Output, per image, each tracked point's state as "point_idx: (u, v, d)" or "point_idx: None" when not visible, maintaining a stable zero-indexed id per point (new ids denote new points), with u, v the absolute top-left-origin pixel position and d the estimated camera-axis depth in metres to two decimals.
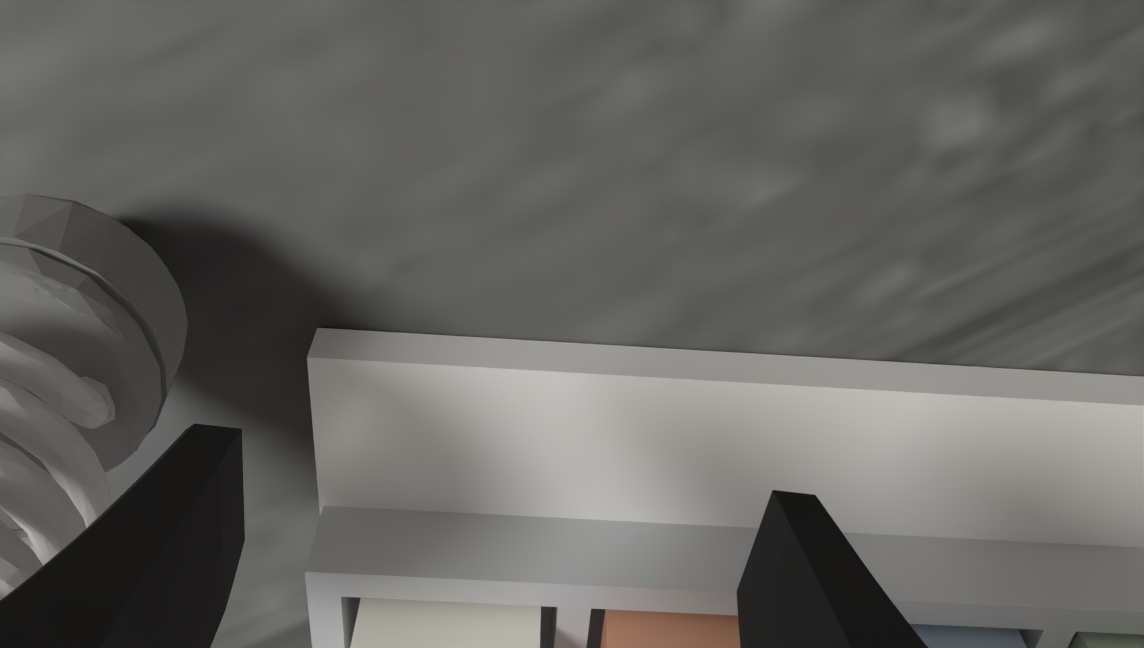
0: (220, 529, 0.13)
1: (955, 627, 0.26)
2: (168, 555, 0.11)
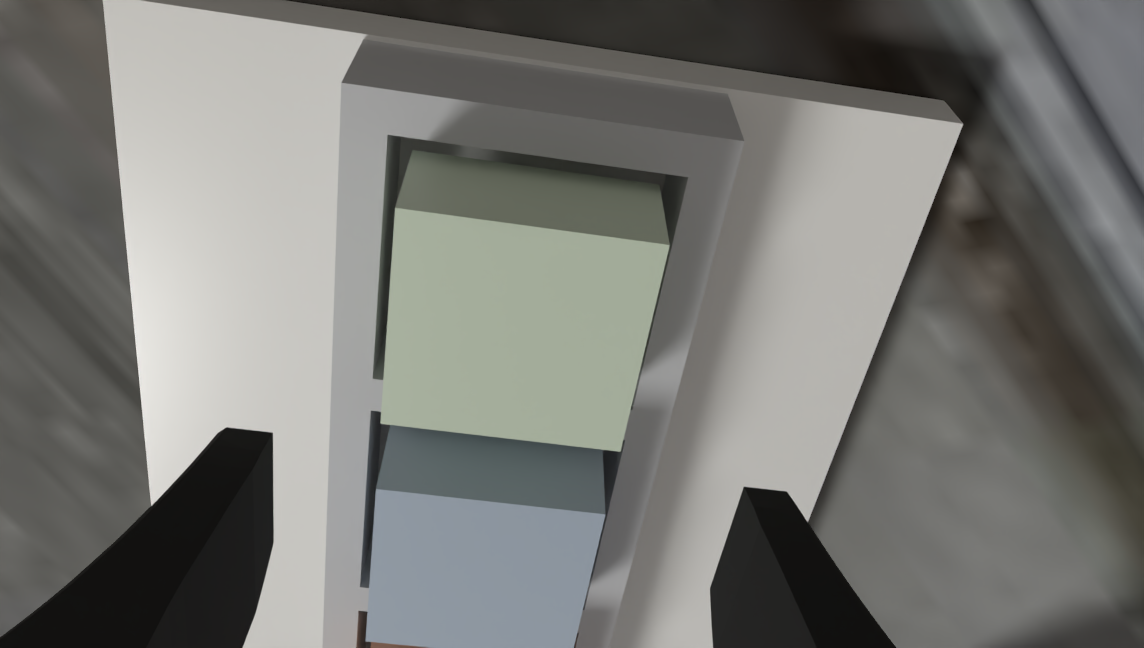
0: (253, 533, 0.13)
1: None
2: (206, 560, 0.11)
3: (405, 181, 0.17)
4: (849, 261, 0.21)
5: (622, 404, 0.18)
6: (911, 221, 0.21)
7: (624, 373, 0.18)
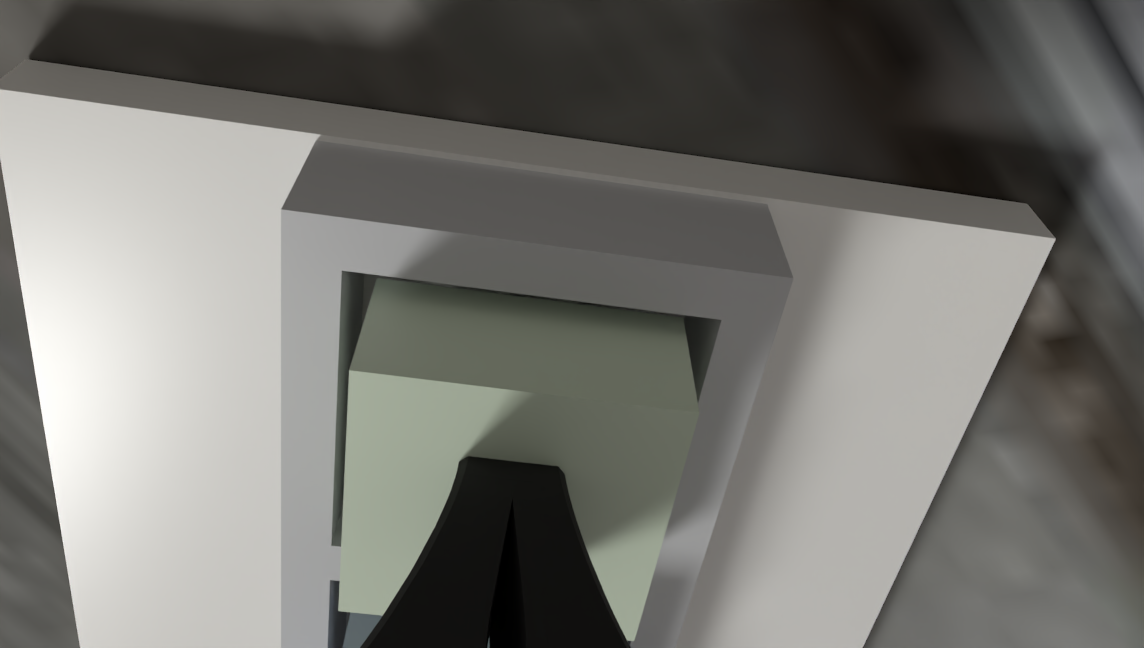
0: (502, 559, 0.13)
1: None
2: (494, 590, 0.11)
3: (365, 327, 0.13)
4: (910, 393, 0.18)
5: (637, 590, 0.15)
6: (986, 349, 0.17)
7: (640, 557, 0.14)
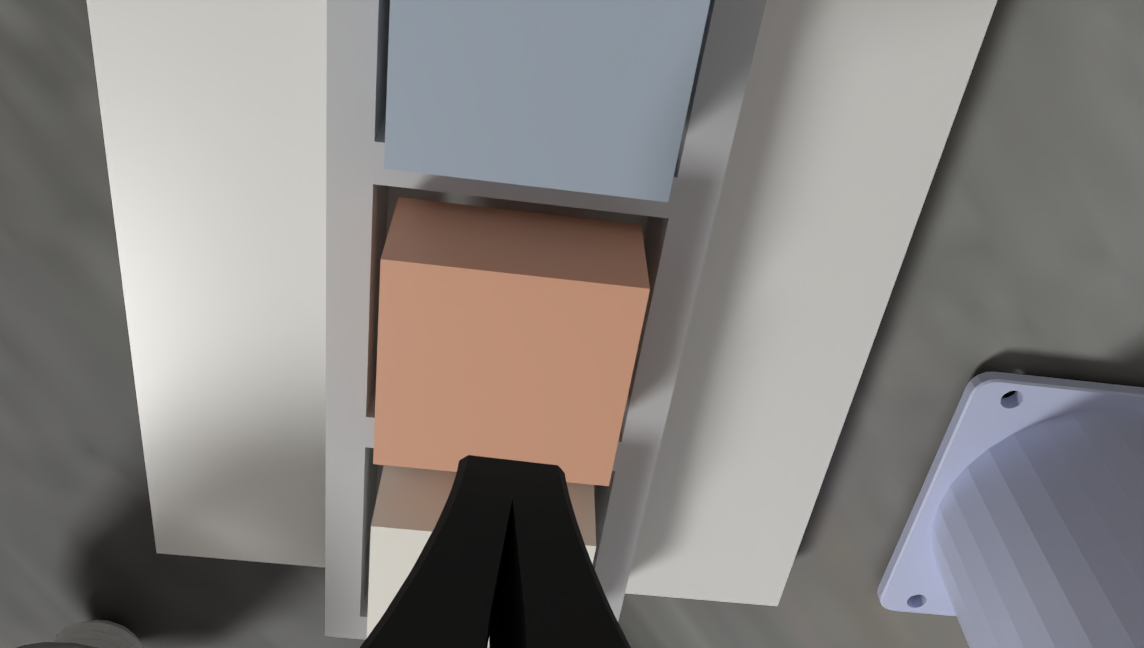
0: (502, 559, 0.13)
1: None
2: (494, 589, 0.11)
3: None
4: None
5: None
6: None
7: None
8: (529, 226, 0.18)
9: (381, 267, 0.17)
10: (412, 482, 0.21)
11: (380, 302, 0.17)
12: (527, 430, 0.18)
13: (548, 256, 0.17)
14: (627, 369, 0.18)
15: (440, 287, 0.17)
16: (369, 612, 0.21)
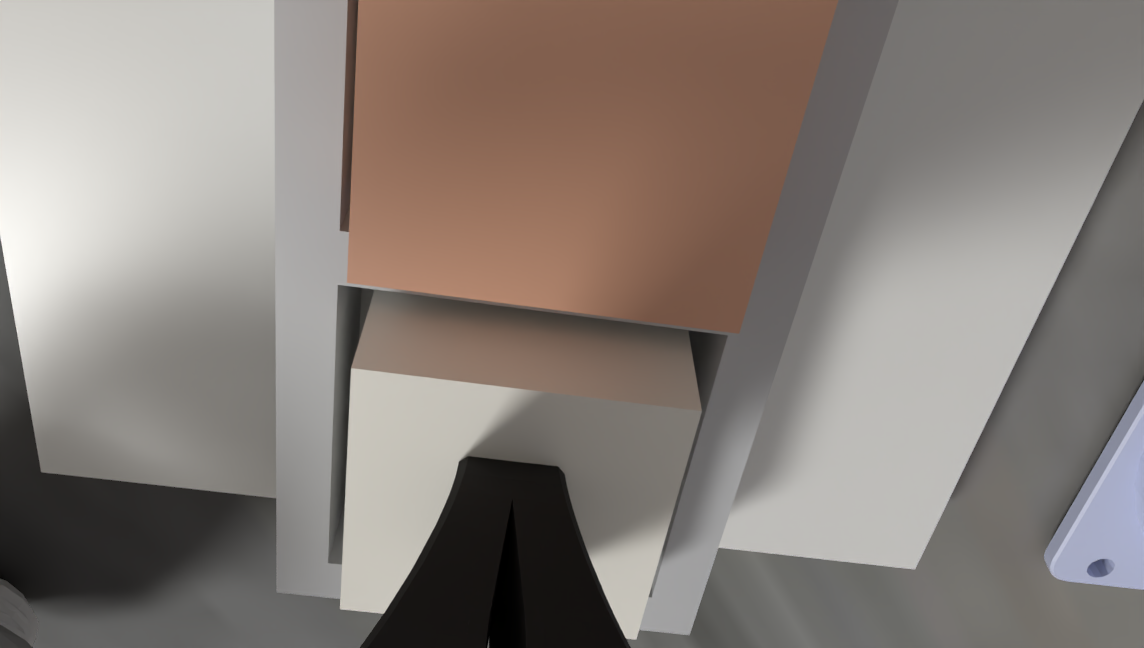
0: (502, 559, 0.13)
1: None
2: (495, 590, 0.11)
3: None
4: None
5: None
6: None
7: None
8: None
9: None
10: (418, 315, 0.14)
11: None
12: (612, 223, 0.11)
13: None
14: (796, 105, 0.10)
15: None
16: (347, 514, 0.14)
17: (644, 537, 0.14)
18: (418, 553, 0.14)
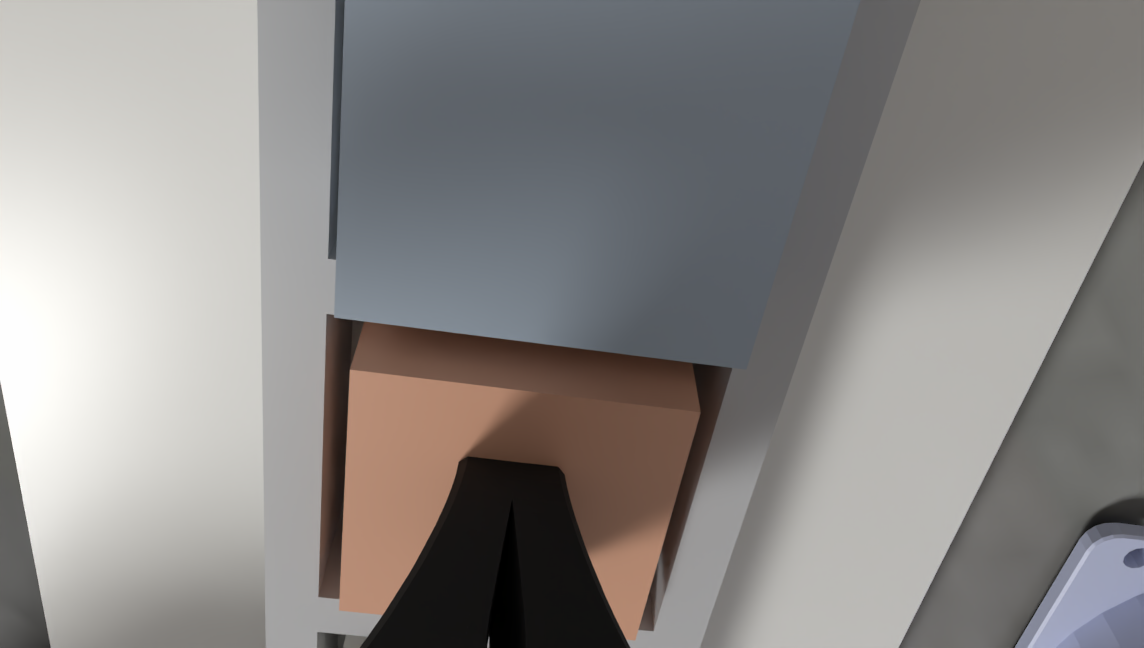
0: (501, 559, 0.13)
1: None
2: (494, 589, 0.11)
3: None
4: None
5: None
6: None
7: None
8: None
9: (350, 379, 0.13)
10: None
11: (349, 422, 0.13)
12: None
13: (567, 364, 0.13)
14: (666, 507, 0.14)
15: (427, 405, 0.13)
16: None
17: None
18: None
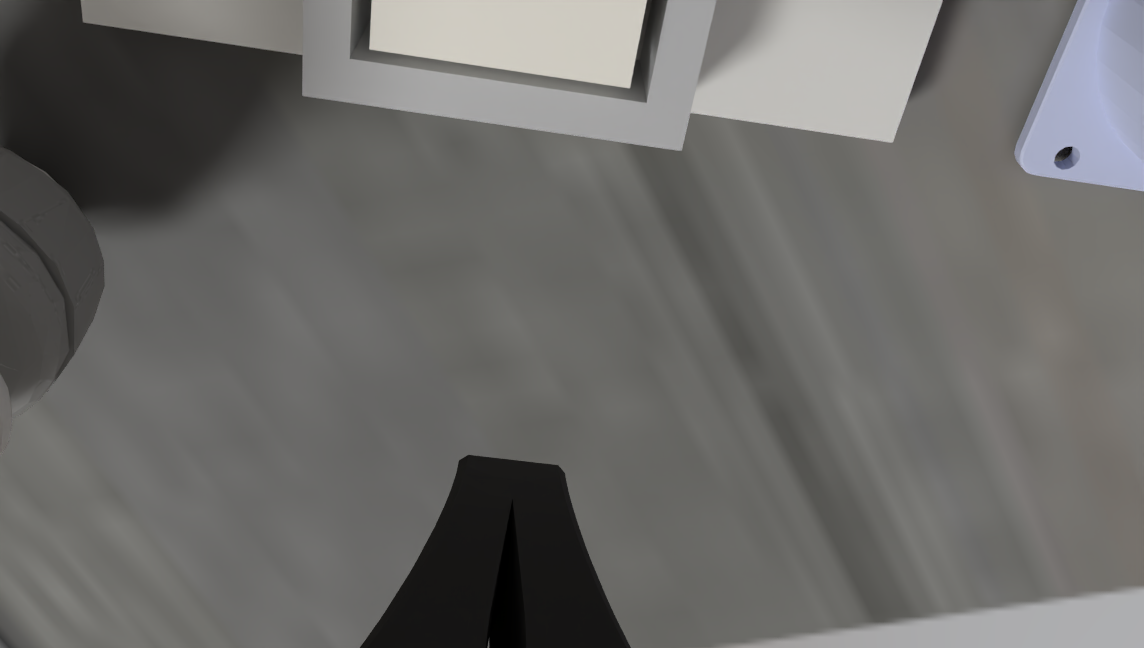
0: (502, 559, 0.13)
1: None
2: (494, 589, 0.11)
3: None
4: None
5: None
6: None
7: None
8: None
9: None
10: None
11: None
12: None
13: None
14: None
15: None
16: None
17: None
18: None
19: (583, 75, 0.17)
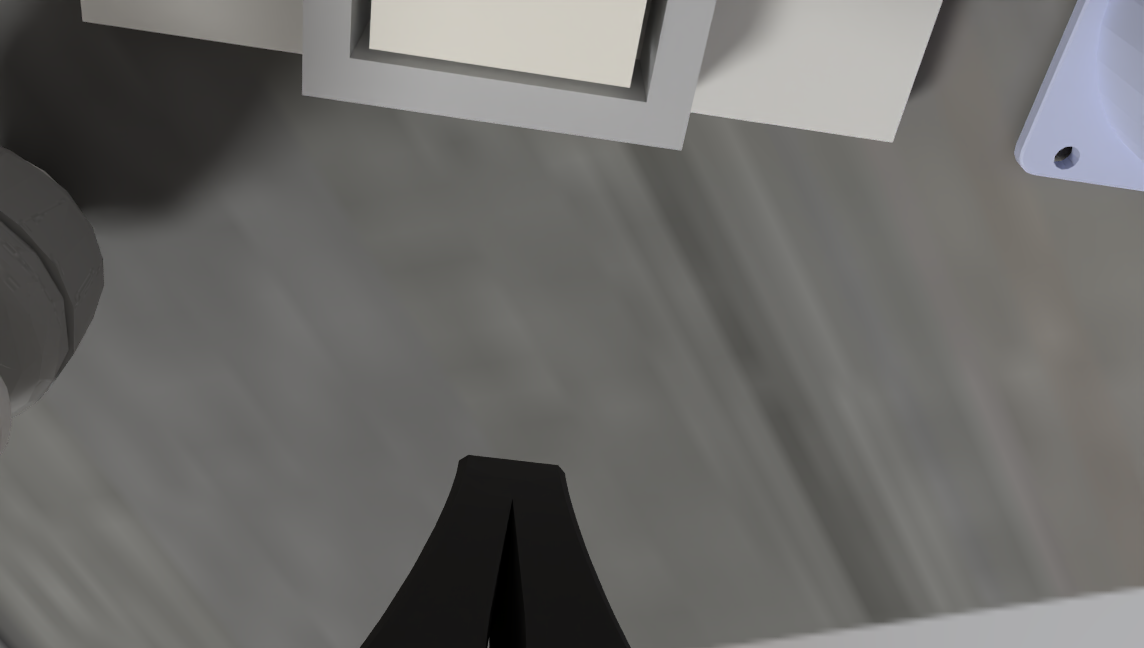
0: (502, 559, 0.13)
1: None
2: (494, 589, 0.11)
3: None
4: None
5: None
6: None
7: None
8: None
9: None
10: None
11: None
12: None
13: None
14: None
15: None
16: None
17: None
18: None
19: (583, 74, 0.17)
